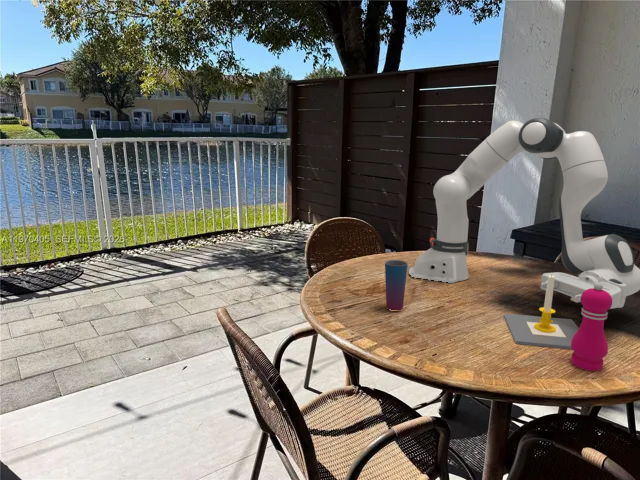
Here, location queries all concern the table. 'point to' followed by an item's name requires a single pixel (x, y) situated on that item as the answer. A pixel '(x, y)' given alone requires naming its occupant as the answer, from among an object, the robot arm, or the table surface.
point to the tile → (529, 335)
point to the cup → (395, 283)
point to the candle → (547, 309)
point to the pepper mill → (591, 330)
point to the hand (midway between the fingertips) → (557, 292)
